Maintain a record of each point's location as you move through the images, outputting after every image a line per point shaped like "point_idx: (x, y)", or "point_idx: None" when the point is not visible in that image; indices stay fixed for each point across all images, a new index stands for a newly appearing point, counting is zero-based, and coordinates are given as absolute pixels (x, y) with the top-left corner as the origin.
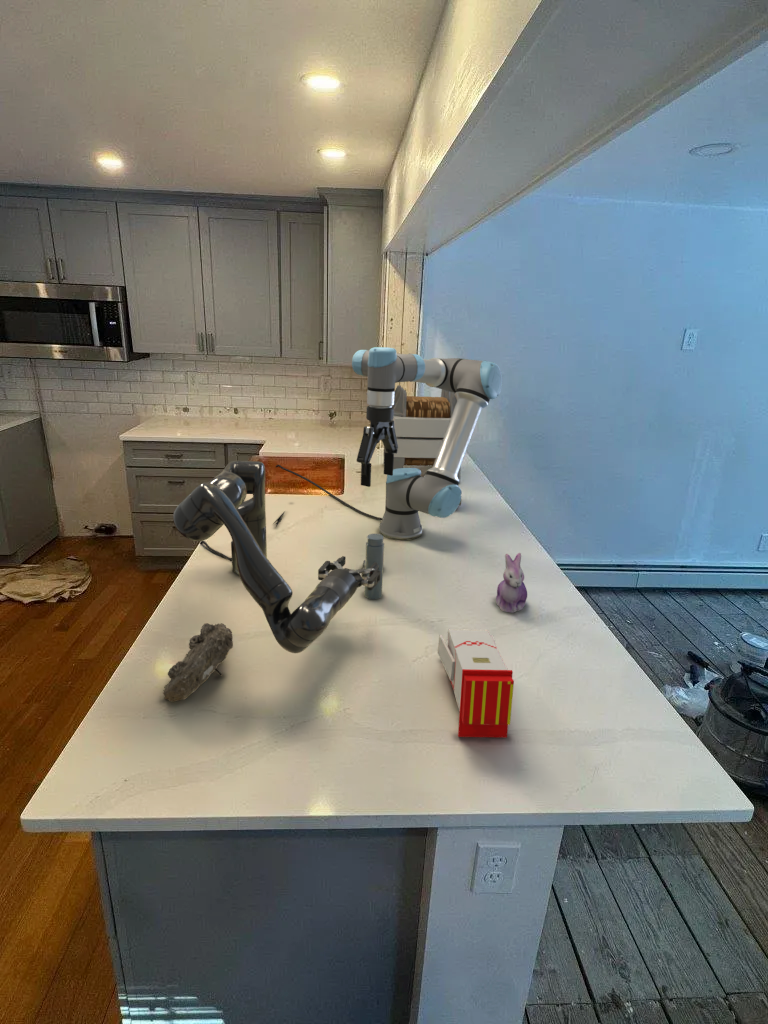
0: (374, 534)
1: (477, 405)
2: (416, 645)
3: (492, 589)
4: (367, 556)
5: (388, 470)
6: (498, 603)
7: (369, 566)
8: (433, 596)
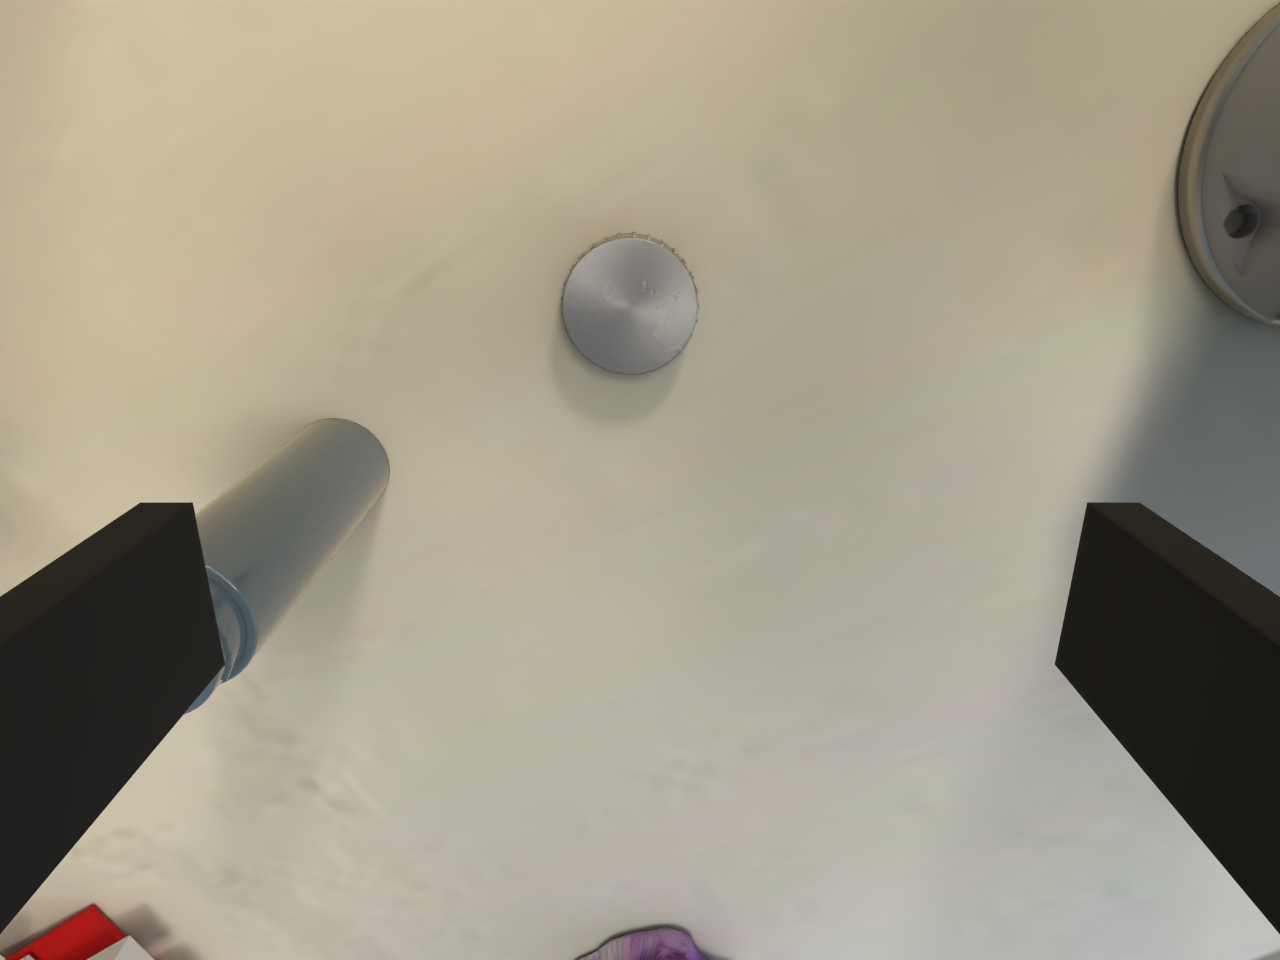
0: None
1: None
2: None
3: (749, 887)
4: None
5: (1117, 649)
6: (602, 955)
7: None
8: (524, 710)
